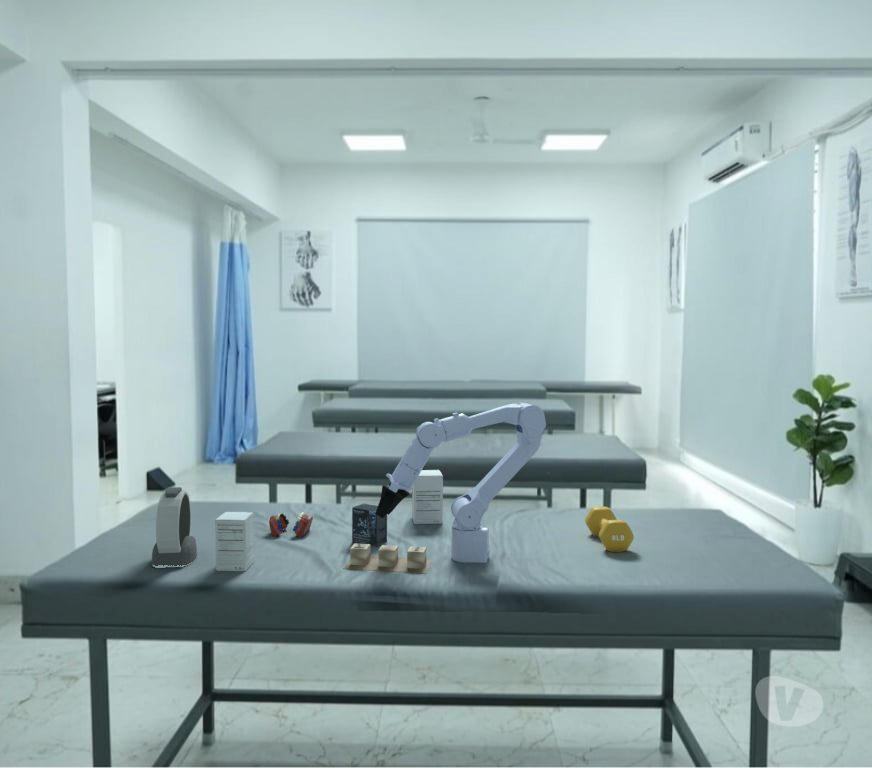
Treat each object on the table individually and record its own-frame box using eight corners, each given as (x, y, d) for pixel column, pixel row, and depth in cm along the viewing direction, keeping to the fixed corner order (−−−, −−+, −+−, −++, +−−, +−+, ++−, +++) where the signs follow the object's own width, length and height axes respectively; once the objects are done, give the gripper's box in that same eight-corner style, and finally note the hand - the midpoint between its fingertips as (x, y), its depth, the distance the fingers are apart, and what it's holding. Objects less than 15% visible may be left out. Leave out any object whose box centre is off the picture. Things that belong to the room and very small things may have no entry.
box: (351, 546, 182) (351, 507, 181) (363, 540, 187) (363, 502, 186) (375, 550, 178) (375, 511, 177) (387, 545, 183) (387, 506, 182)
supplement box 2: (411, 517, 212) (411, 469, 211) (439, 516, 213) (439, 469, 212) (413, 524, 203) (413, 475, 202) (443, 524, 204) (443, 475, 203)
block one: (426, 563, 165) (426, 546, 164) (423, 568, 161) (423, 551, 160) (410, 562, 165) (410, 545, 165) (407, 567, 161) (407, 550, 161)
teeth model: (275, 507, 198) (315, 509, 197) (275, 528, 198) (315, 530, 197) (265, 516, 189) (307, 517, 188) (265, 538, 190) (307, 539, 189)
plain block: (398, 561, 166) (398, 545, 165) (394, 567, 162) (394, 550, 162) (382, 560, 166) (382, 544, 166) (378, 566, 162) (378, 549, 162)
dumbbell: (583, 533, 196) (584, 505, 195) (614, 533, 196) (615, 505, 196) (600, 553, 177) (601, 522, 176) (635, 553, 177) (635, 522, 177)
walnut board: (432, 563, 168) (432, 559, 167) (425, 577, 158) (425, 573, 158) (354, 559, 170) (354, 555, 170) (342, 572, 161) (342, 568, 161)
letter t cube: (370, 560, 167) (370, 543, 166) (366, 565, 163) (366, 548, 163) (354, 559, 167) (354, 543, 167) (350, 564, 163) (350, 547, 163)
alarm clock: (189, 569, 162) (188, 494, 161) (144, 571, 160) (143, 495, 159) (201, 549, 178) (200, 480, 177) (161, 551, 176) (159, 481, 175)
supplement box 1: (225, 561, 168) (224, 511, 168) (255, 561, 168) (254, 511, 167) (215, 571, 161) (214, 519, 160) (245, 571, 161) (245, 519, 160)
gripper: (401, 457, 174) (374, 502, 173) (391, 458, 159) (362, 508, 159) (424, 471, 173) (397, 517, 172) (416, 474, 158) (387, 524, 158)
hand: (382, 514), depth 166 cm, fingers open, 7 cm apart
